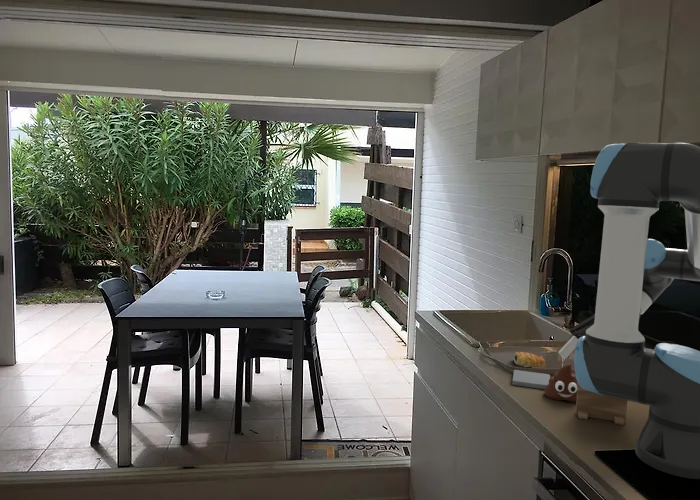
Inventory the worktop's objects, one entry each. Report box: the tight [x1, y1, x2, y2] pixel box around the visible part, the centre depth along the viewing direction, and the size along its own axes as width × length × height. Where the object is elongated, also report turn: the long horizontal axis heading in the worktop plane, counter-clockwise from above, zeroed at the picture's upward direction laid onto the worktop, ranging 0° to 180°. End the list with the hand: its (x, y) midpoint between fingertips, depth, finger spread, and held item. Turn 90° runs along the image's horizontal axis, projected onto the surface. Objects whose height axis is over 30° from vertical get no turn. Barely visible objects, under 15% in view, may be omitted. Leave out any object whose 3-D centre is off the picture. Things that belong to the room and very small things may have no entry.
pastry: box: [513, 351, 546, 368], centre depth 177 cm, size 9×7×4 cm
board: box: [511, 369, 551, 390], centre depth 161 cm, size 10×10×1 cm
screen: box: [575, 384, 628, 426], centre depth 137 cm, size 5×11×14 cm, turn 72°
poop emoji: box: [543, 363, 578, 403], centre depth 150 cm, size 10×8×9 cm
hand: (577, 363), depth 151 cm, fingers open, 13 cm apart
